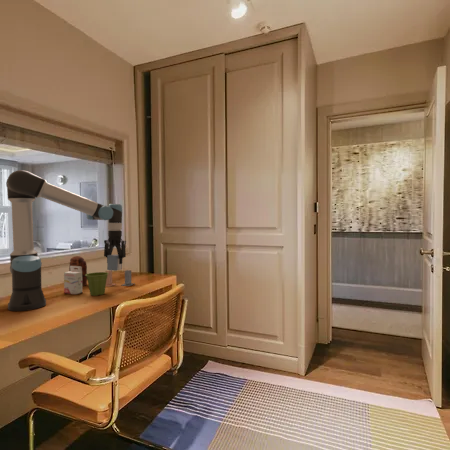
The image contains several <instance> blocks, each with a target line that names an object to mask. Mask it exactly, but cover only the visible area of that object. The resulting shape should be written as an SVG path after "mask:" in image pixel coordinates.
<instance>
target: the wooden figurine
mask: <svg viewBox="0 0 450 450" xmlns="http://www.w3.org/2000/svg"><path fill="white" fill-rule="evenodd" d="M70 266H81V267H82V287H83V286H86V285H88V280H87V277H86V276H85V275H86V274H88V272H87V271H88V269H87V268H88V267H87V262H86V261H85V259H84V258H83V257H82V256H80V255H79V256H78V255H75V256H72V257H71V258H70V260H69V268H68V269H69V270H68V271H70ZM74 269H78V268H74Z"/></svg>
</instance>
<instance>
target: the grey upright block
mask: <svg viewBox="0 0 450 450" xmlns="http://www.w3.org/2000/svg"><path fill="white" fill-rule="evenodd" d="M118 258H119V257H118V254H111V255H107V257H106V263H107V269H106V271H107V270H112V272H113V271H114V272H115V271H116V272H117V271H118V270H117V267H118ZM122 268H123V263H122V264H121V269H120V270H121V271H122ZM120 270H119V271H120Z"/></svg>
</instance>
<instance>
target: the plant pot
mask: <svg viewBox="0 0 450 450" xmlns="http://www.w3.org/2000/svg"><path fill="white" fill-rule="evenodd" d="M108 274H109V273H107V272H104V271H103V272H98V271H97V272H90V273H89V272H88V273H87V274H86V275H85V276H86V277H87V285H88V289H89V294H90V295H91V296H92V297H93V296H95V297H96V296H99V295H100V296H102V295H104V294H105V293H106V287H107V286H106V279H107V275H108Z"/></svg>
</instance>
